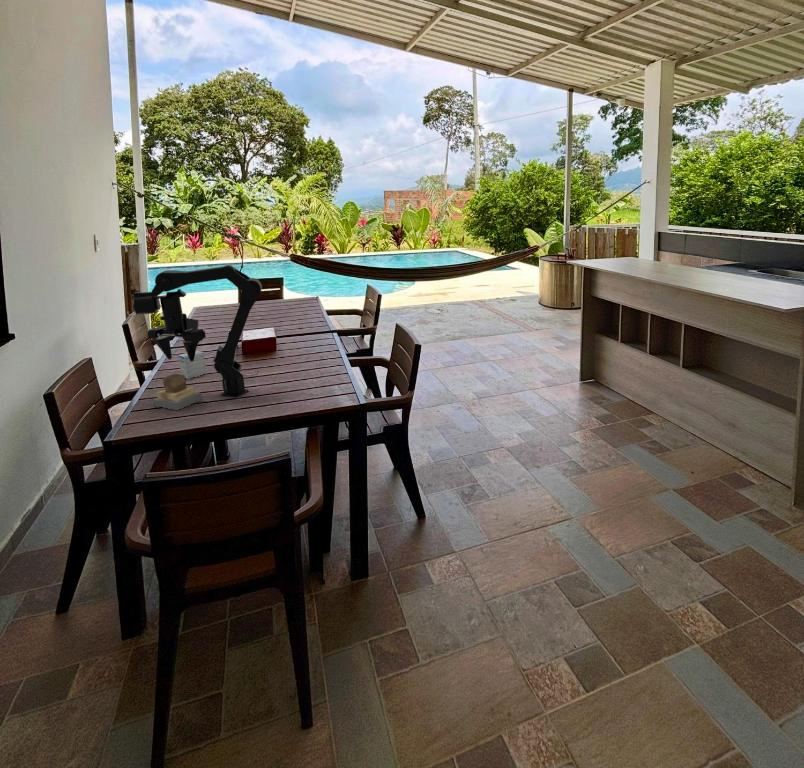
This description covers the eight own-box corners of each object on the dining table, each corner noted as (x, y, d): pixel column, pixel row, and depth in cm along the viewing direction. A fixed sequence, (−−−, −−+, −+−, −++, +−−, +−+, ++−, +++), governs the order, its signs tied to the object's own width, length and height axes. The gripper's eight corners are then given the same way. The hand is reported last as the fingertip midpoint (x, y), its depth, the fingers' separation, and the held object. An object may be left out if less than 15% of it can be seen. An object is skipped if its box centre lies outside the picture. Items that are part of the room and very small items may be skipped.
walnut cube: (186, 388, 176) (184, 375, 174) (175, 393, 172) (173, 379, 170) (176, 387, 177) (173, 373, 176) (165, 391, 174) (162, 377, 172)
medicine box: (200, 372, 208) (197, 350, 205) (207, 374, 205) (203, 351, 202) (181, 377, 202) (177, 355, 199) (187, 380, 199) (184, 356, 197)
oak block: (195, 393, 177) (194, 387, 176) (176, 401, 170) (175, 395, 170) (177, 390, 180) (176, 384, 180) (157, 398, 174) (156, 392, 173)
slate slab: (201, 400, 178) (200, 392, 178) (177, 410, 170) (176, 403, 169) (178, 396, 182) (177, 389, 182) (154, 406, 174) (152, 399, 173)
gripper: (213, 308, 175) (221, 355, 180) (169, 306, 182) (177, 351, 187) (188, 315, 166) (197, 365, 171) (142, 312, 173) (151, 360, 178)
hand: (181, 360), depth 177 cm, fingers open, 9 cm apart
